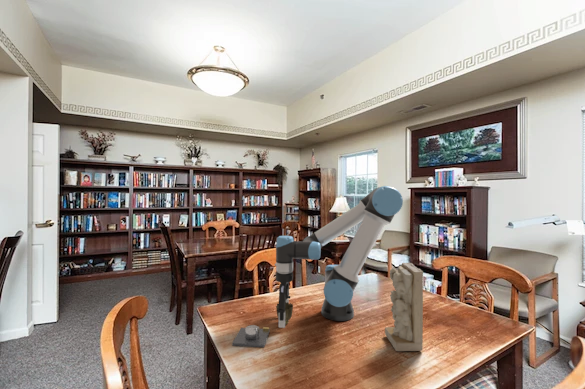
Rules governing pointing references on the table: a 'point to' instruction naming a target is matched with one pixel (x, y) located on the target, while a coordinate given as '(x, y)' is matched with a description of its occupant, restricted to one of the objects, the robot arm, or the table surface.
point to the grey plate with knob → (251, 336)
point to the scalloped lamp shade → (286, 311)
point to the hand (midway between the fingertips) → (283, 319)
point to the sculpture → (406, 308)
